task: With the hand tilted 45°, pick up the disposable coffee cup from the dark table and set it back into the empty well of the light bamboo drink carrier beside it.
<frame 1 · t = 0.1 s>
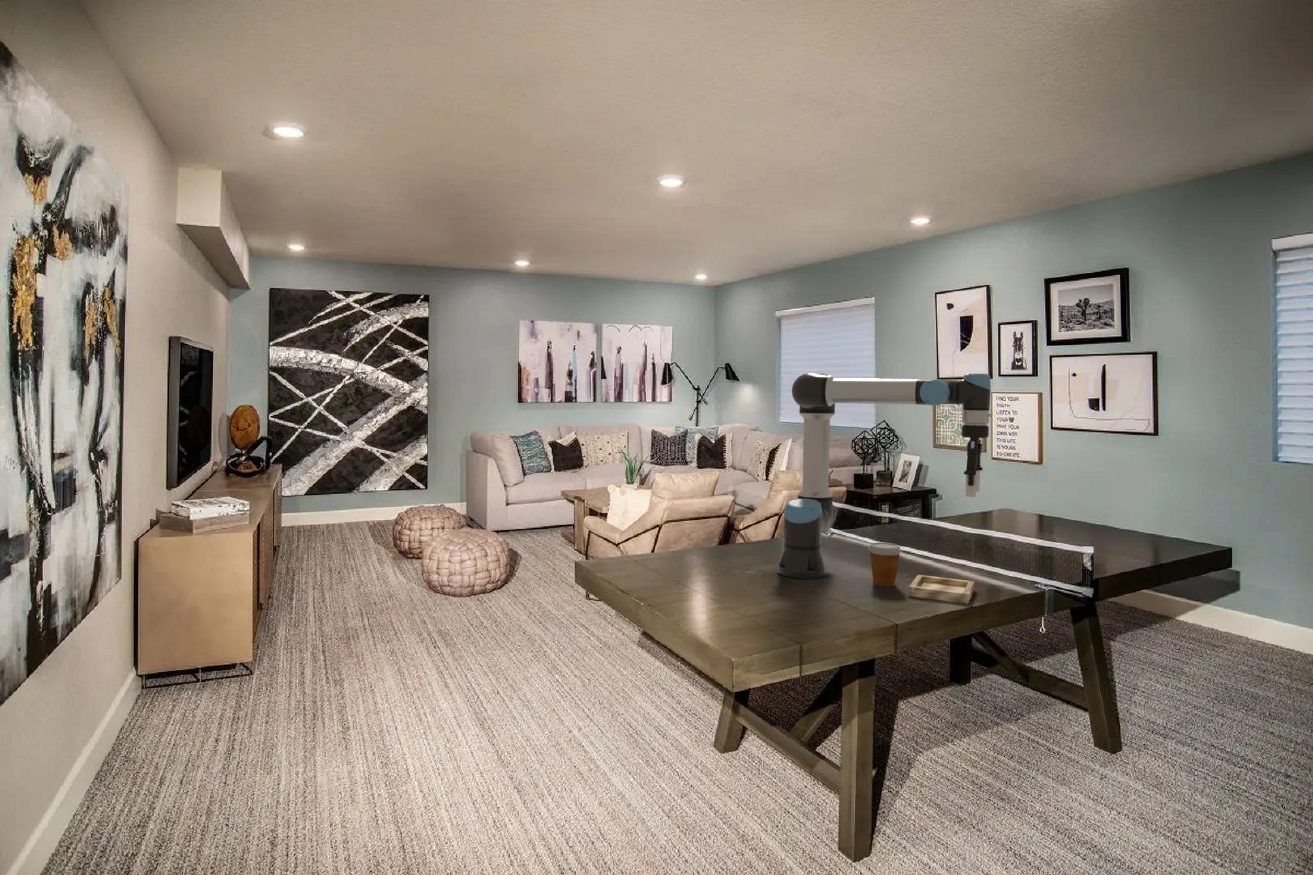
hand: (972, 494, 226), 28 cm above the table, tool pointing down, fingers open, 13 cm apart
disposable coffee cup: (883, 584, 228), on the table
carrier: (941, 593, 218), on the table
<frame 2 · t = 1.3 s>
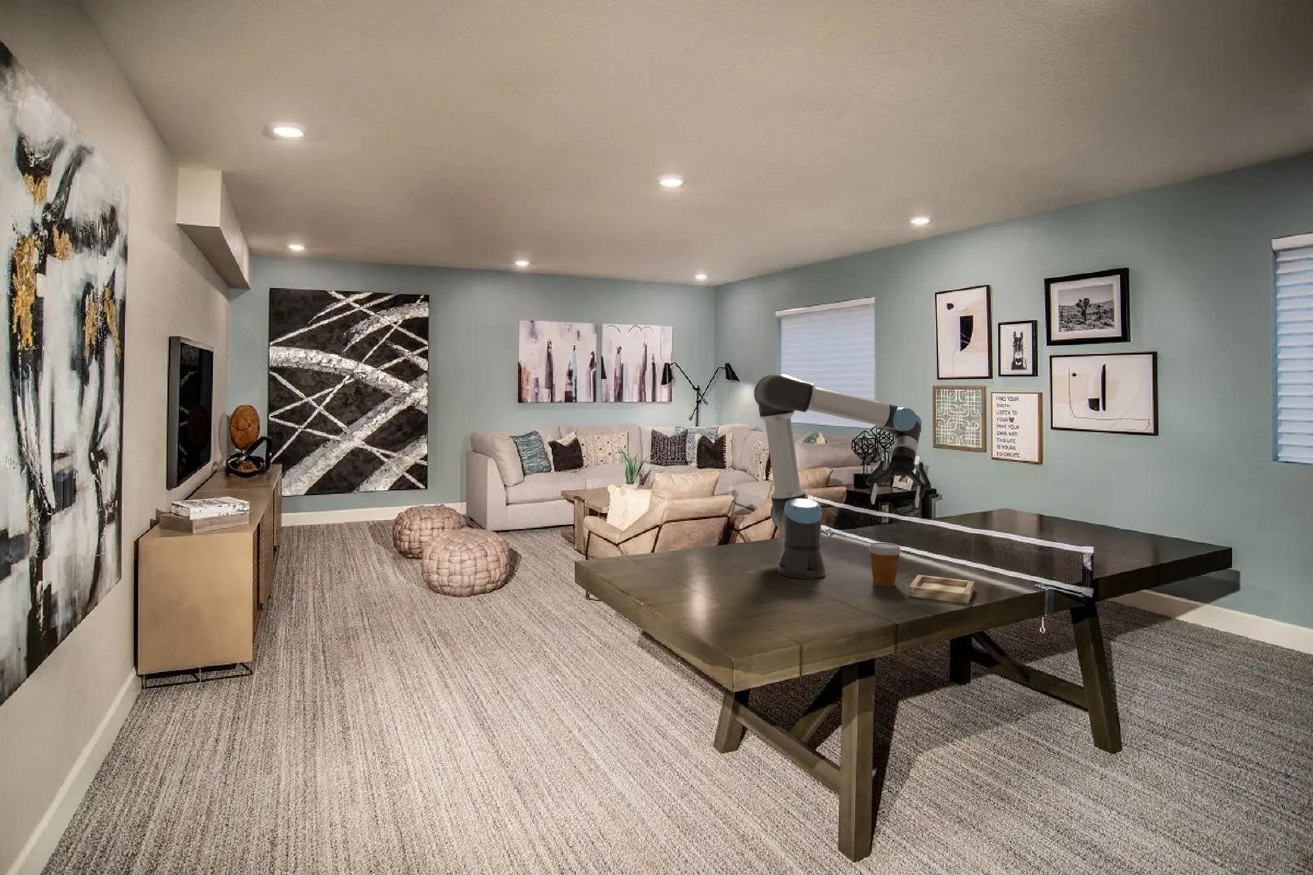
hand: (894, 503, 236), 23 cm above the table, tool tilted 45°, fingers open, 13 cm apart
nothing on the table moved.
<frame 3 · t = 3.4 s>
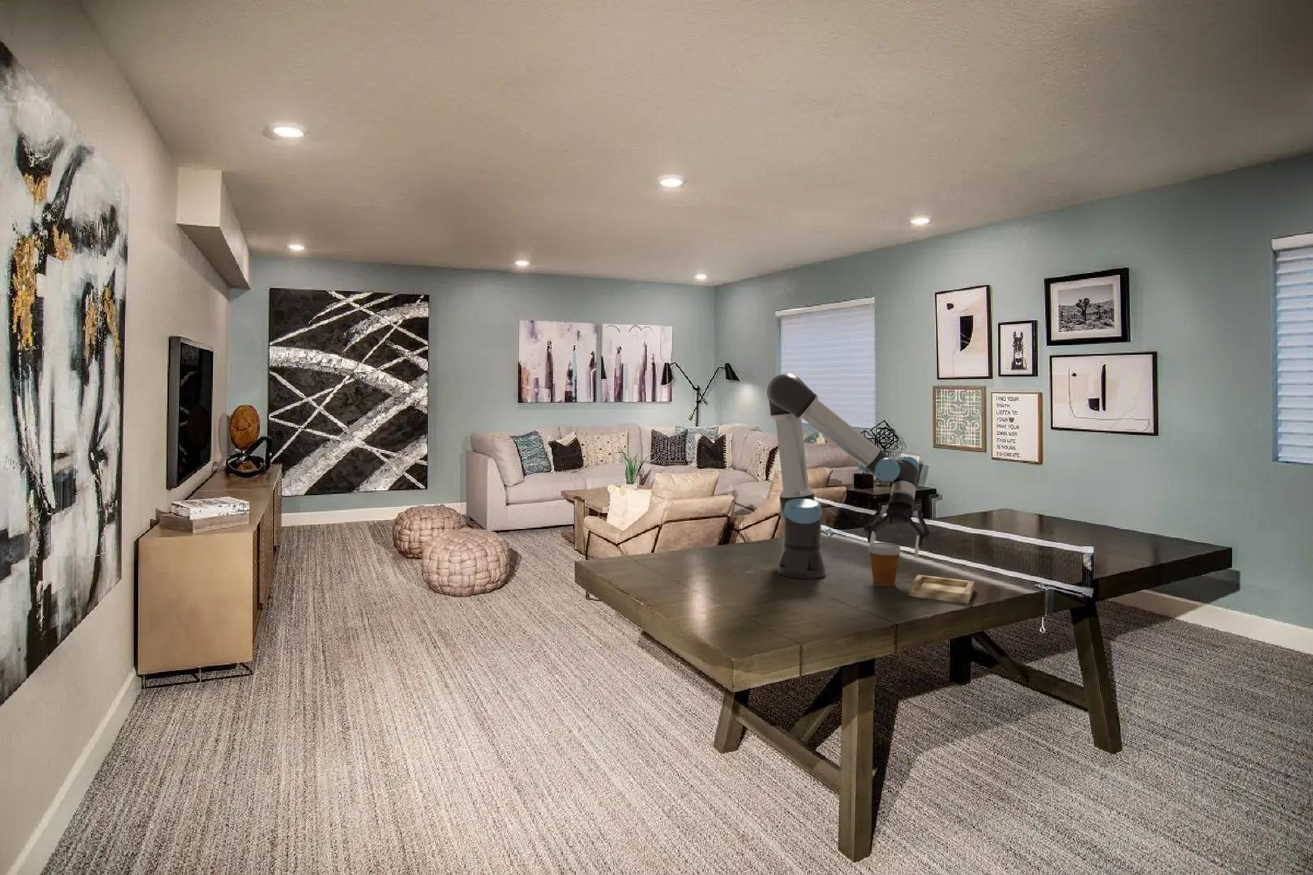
hand: (892, 553, 230), 9 cm above the table, tool tilted 45°, fingers open, 13 cm apart
nothing on the table moved.
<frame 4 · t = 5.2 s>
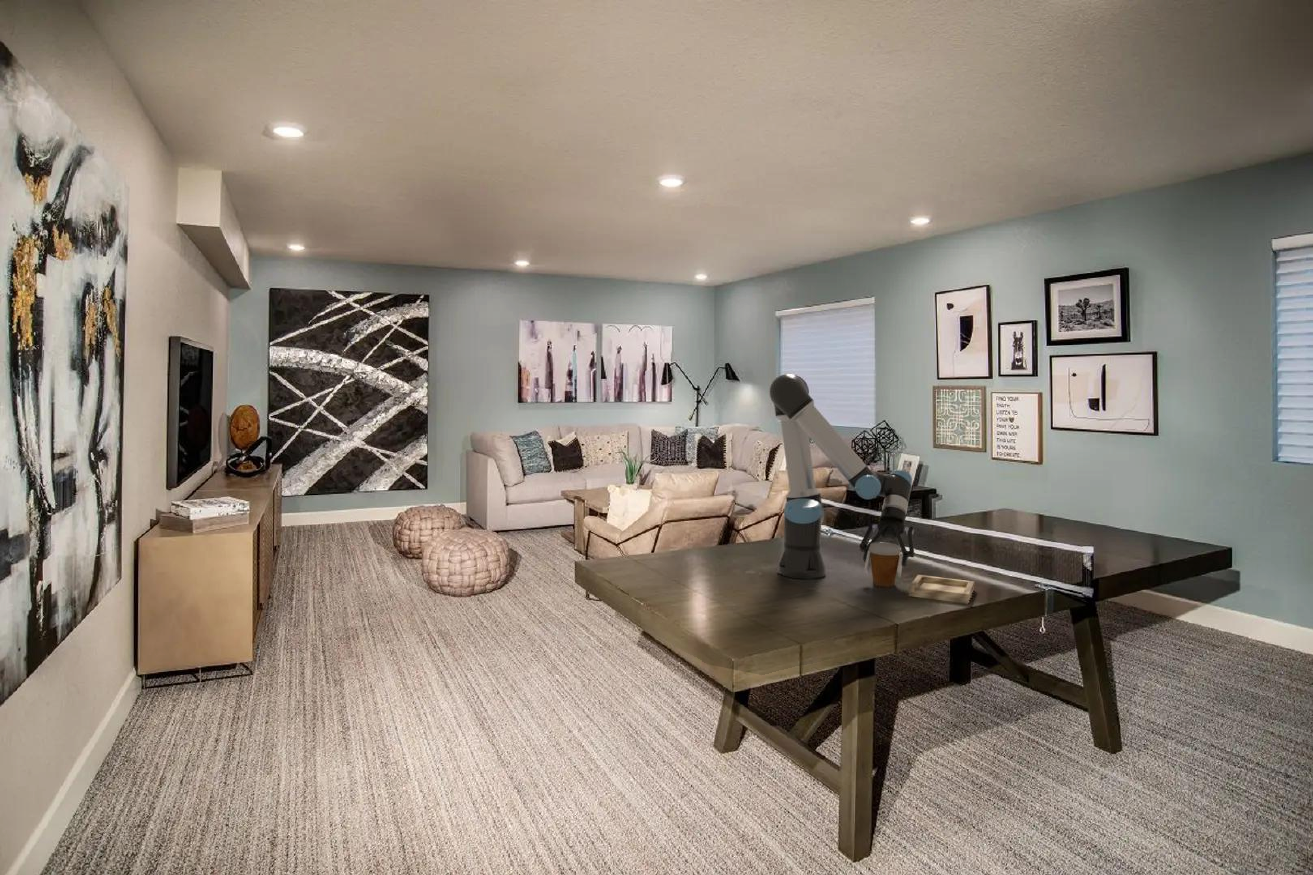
hand: (882, 572, 224), 4 cm above the table, tool tilted 45°, fingers closed on disposable coffee cup, 9 cm apart
disposable coffee cup: (883, 584, 228), on the table, touching gripper
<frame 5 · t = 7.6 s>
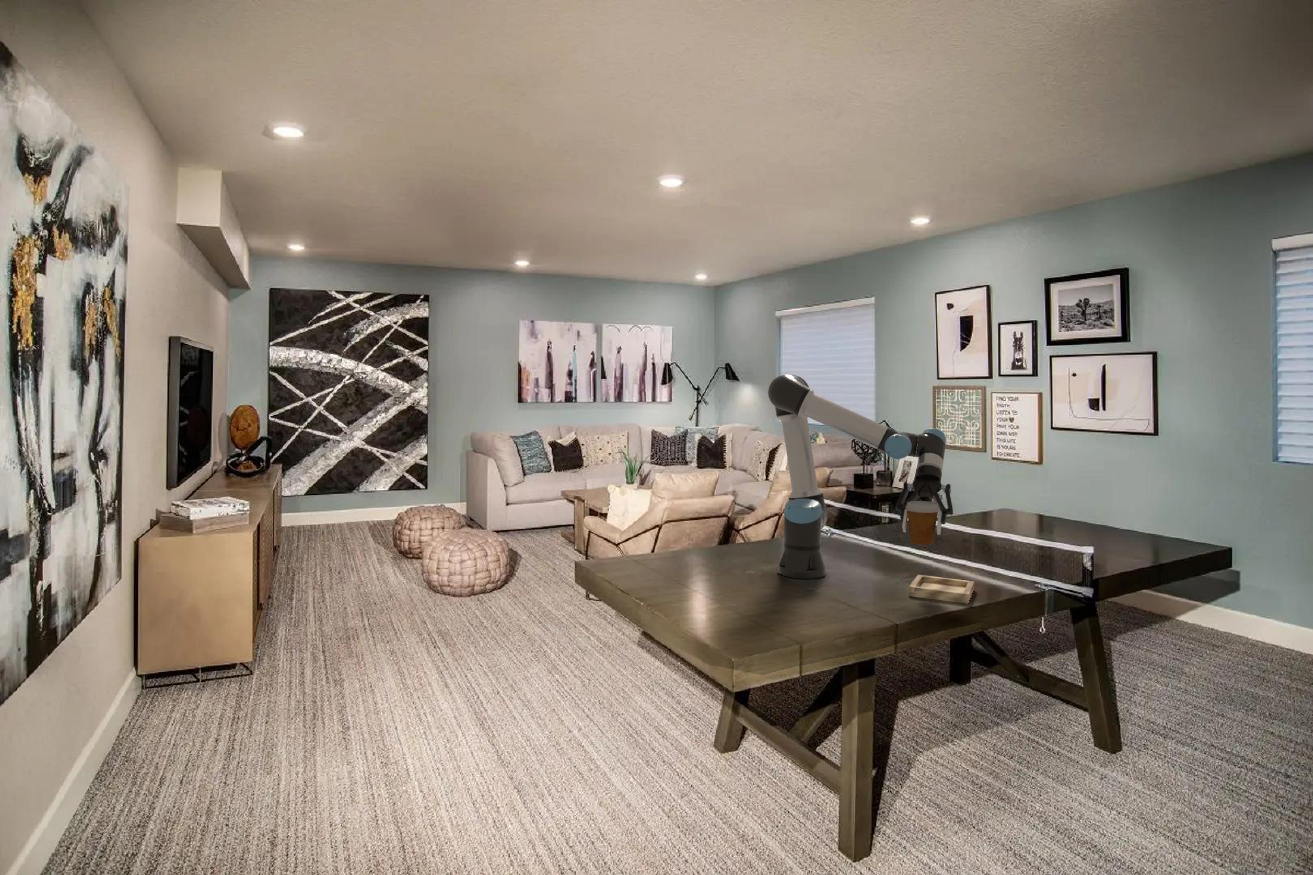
hand: (921, 530, 218), 18 cm above the table, tool tilted 45°, fingers closed on disposable coffee cup, 9 cm apart
disposable coffee cup: (921, 543, 221), point 14 cm above the table, touching gripper
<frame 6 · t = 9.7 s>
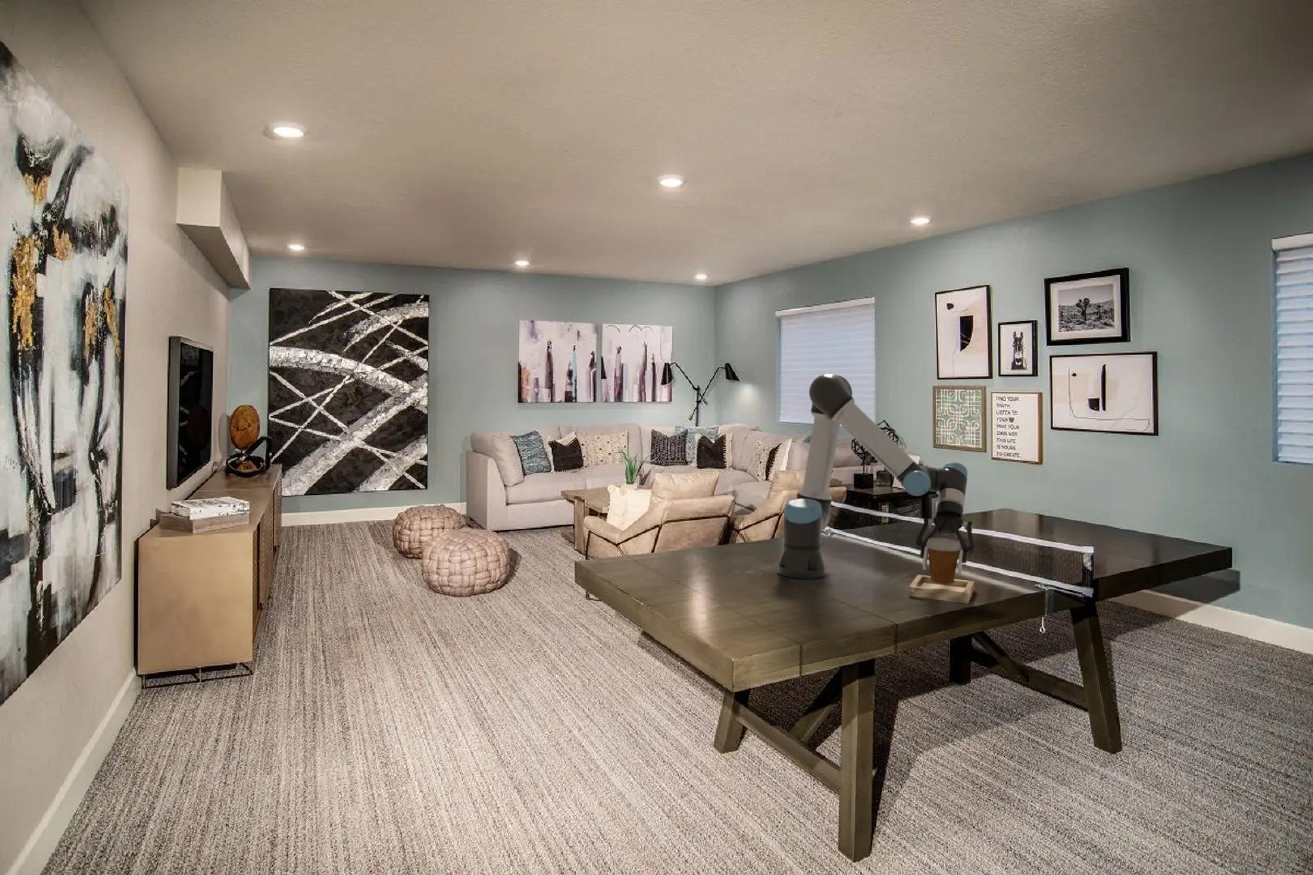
hand: (941, 569, 214), 8 cm above the table, tool tilted 45°, fingers closed on disposable coffee cup, 9 cm apart
disposable coffee cup: (942, 581, 218), point 3 cm above the table, touching gripper
when the fingers open (7 cm above the table, at t = 10.4 s): disposable coffee cup drops 2 cm, resting on carrier.
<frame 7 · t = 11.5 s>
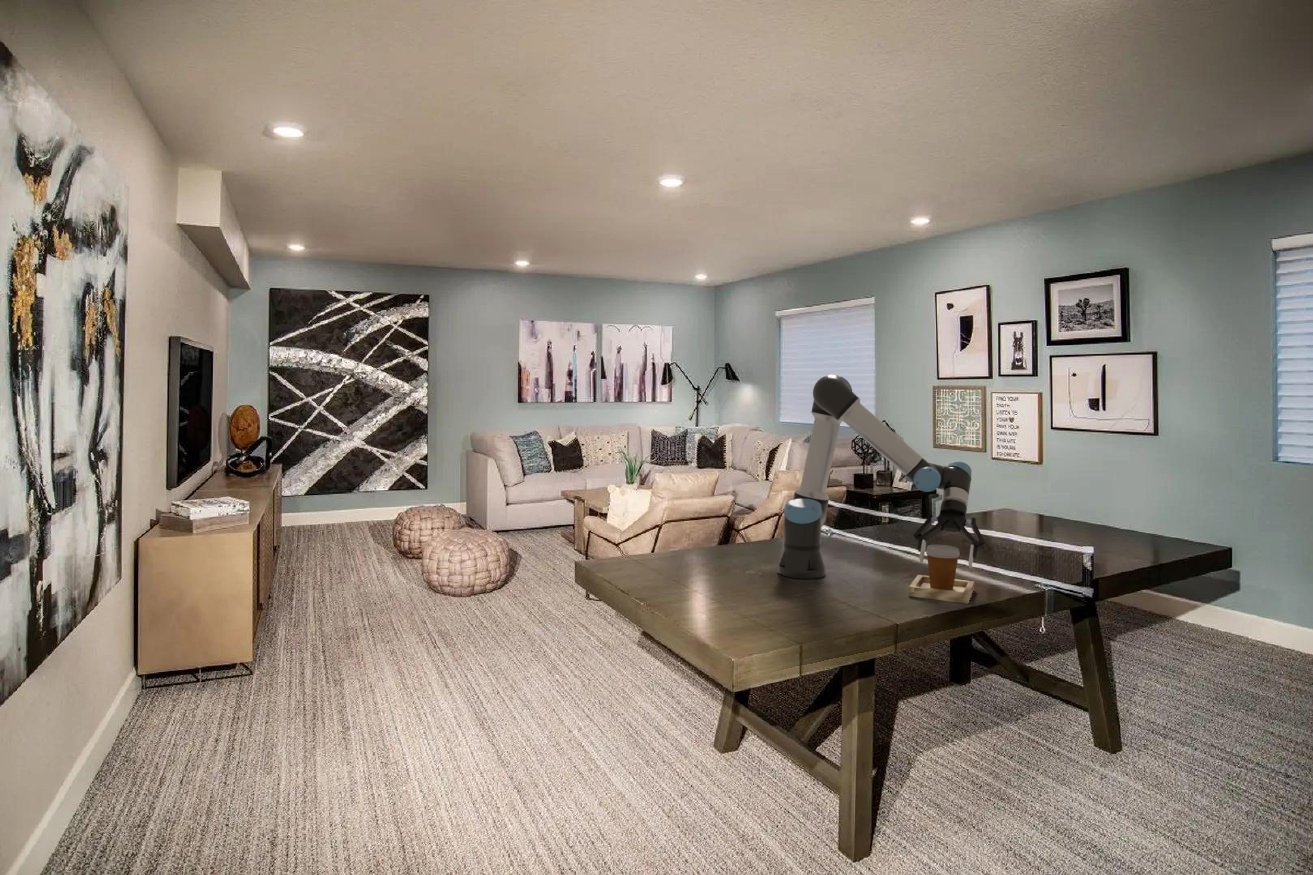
hand: (945, 563, 219), 9 cm above the table, tool tilted 45°, fingers open, 13 cm apart
disposable coffee cup: (941, 588, 219), point 1 cm above the table, touching carrier
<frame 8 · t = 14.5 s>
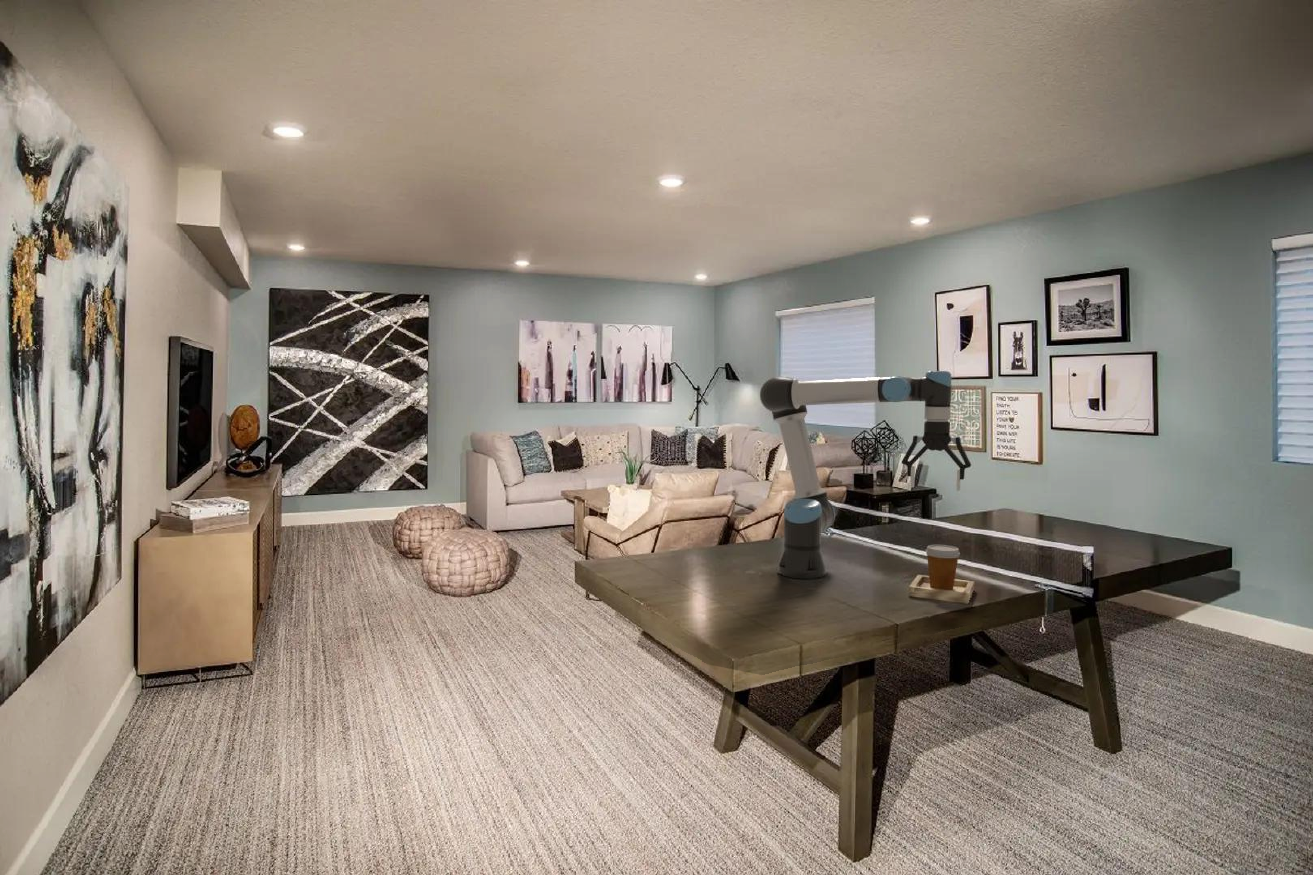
hand: (935, 488, 232), 29 cm above the table, tool pointing down, fingers open, 13 cm apart
nothing on the table moved.
at the end: disposable coffee cup inside the target area on the carrier (1.2 cm from its centre), point 1.0 cm above the carrier's base; disposable coffee cup tilted 0°; the gripper is holding nothing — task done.
